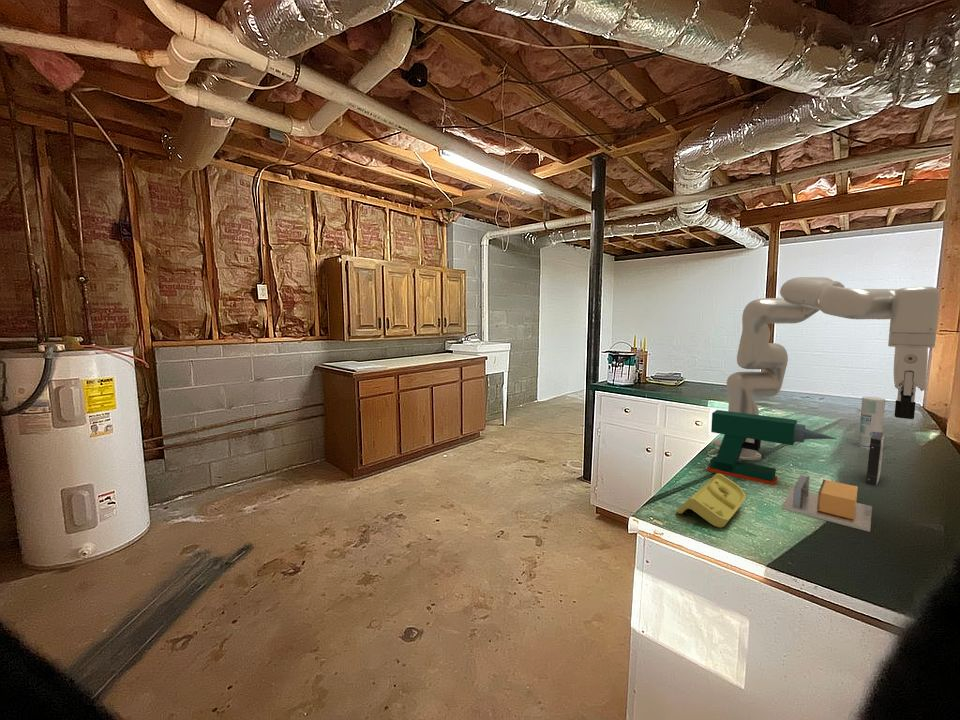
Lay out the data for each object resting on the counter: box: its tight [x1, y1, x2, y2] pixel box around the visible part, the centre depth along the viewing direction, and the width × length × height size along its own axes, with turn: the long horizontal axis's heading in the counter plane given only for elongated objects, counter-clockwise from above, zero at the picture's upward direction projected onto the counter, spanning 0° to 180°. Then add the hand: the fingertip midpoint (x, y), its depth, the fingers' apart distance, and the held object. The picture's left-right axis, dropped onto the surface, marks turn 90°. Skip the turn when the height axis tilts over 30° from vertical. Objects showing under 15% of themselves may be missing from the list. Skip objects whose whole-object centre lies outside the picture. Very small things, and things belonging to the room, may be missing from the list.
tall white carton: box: [858, 396, 886, 450], centre depth 159 cm, size 6×6×20 cm
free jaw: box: [817, 479, 859, 519], centre depth 106 cm, size 7×12×5 cm, turn 135°
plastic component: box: [675, 473, 747, 528], centre depth 107 cm, size 20×7×10 cm
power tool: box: [707, 409, 838, 486], centre depth 127 cm, size 32×7×20 cm, turn 47°
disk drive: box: [865, 432, 885, 486], centre depth 127 cm, size 10×3×15 cm, turn 133°
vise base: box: [781, 474, 873, 533], centre depth 108 cm, size 17×16×6 cm
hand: (903, 417), depth 97 cm, fingers closed
